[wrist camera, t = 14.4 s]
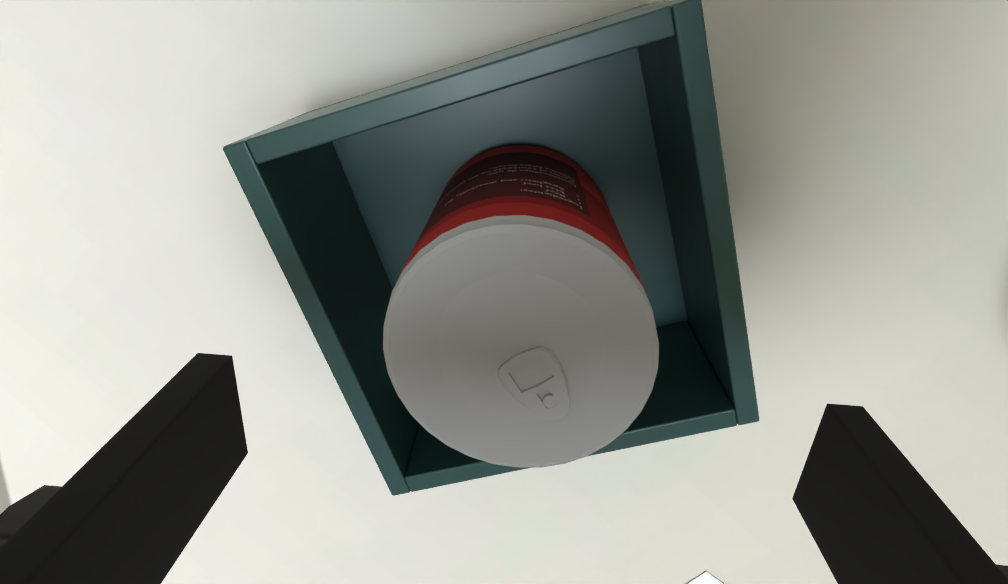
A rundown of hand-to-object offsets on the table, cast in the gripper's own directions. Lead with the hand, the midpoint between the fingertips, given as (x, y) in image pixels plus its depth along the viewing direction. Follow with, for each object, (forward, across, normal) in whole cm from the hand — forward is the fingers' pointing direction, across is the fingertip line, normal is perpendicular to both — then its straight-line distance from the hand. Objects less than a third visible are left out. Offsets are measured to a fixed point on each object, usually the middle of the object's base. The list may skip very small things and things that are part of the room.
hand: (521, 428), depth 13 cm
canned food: (+14, 0, 0) cm, 14 cm away
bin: (+15, 0, 0) cm, 15 cm away
